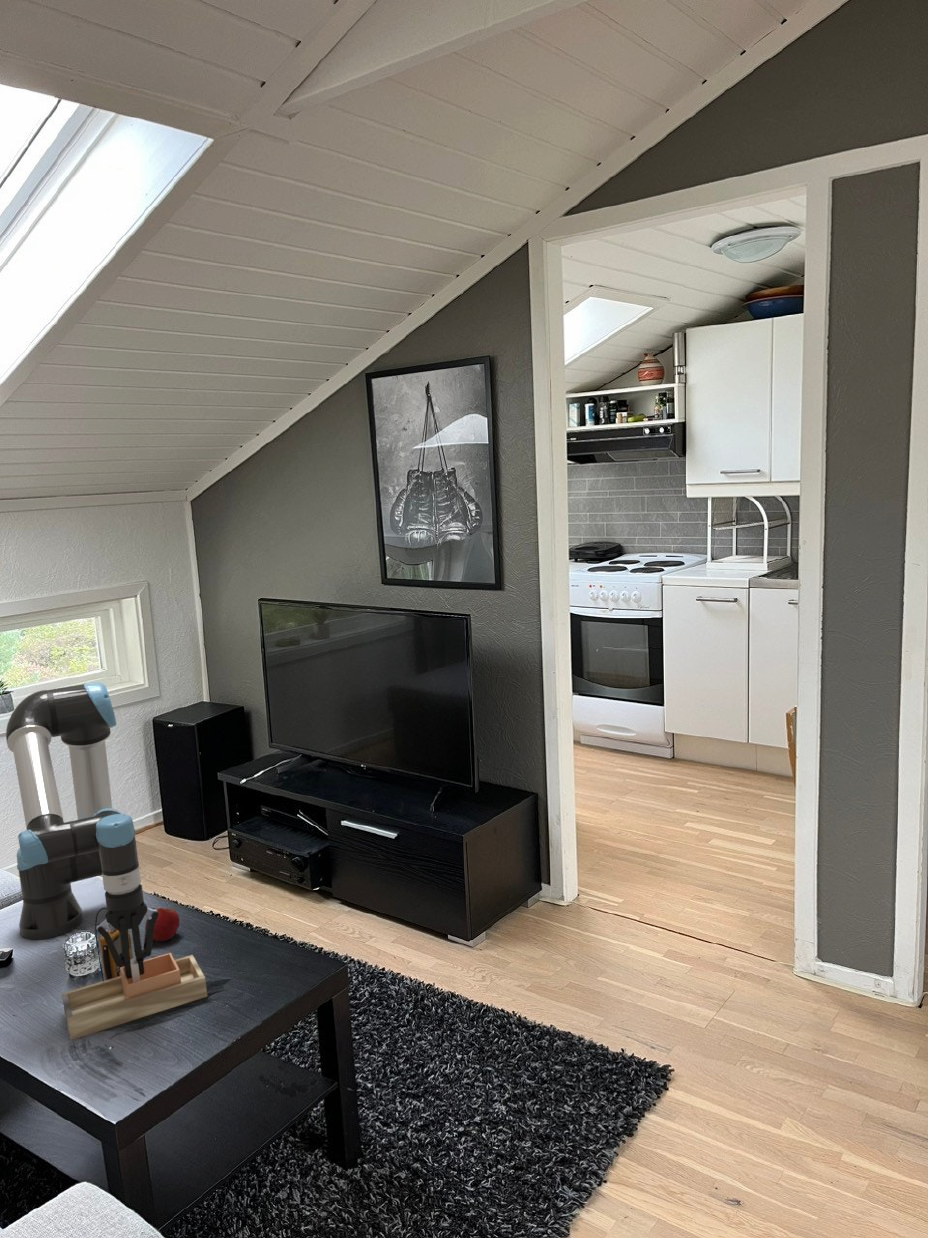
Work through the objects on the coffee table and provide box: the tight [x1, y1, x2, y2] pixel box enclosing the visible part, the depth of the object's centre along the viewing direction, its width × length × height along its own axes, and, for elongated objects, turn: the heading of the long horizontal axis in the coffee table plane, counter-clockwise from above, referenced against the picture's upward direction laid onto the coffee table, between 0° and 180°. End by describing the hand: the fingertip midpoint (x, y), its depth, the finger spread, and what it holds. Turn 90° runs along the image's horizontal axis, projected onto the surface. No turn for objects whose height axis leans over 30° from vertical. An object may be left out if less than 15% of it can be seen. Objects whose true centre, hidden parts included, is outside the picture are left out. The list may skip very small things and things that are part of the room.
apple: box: [144, 907, 180, 942], centre depth 236 cm, size 8×8×8 cm
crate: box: [120, 952, 181, 999], centre depth 209 cm, size 9×11×6 cm
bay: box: [61, 954, 208, 1041], centre depth 208 cm, size 12×28×4 cm, turn 119°
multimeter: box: [94, 907, 134, 981], centre depth 215 cm, size 15×10×20 cm
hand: (137, 989), depth 208 cm, fingers closed
